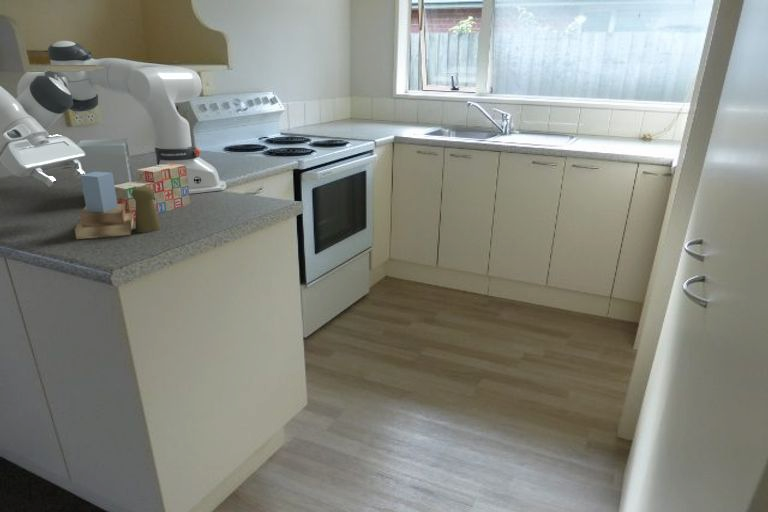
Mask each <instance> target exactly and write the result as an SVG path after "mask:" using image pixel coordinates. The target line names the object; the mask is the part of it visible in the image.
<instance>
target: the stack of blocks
mask: <svg viewBox="0 0 768 512" xmlns="http://www.w3.org/2000/svg"><path fill="white" fill-rule="evenodd" d="M136 171H137V172H136V173H137V179H138V180H133V182H128V183H123V184H119V185H114V186H115V192H116V198H117V204H124V207H125V213H132V214H133V220H134V221H136V201H135V200H134V199H133V196H132V191H133V189H135V188H137V187H151V188H152V189H153V190H154V193H155V195H154V198H153V201H154V205H155V208H156V212H157V215H158V214H162V213H165V212H169V211H173V210H176V208H177V209H180V208H182V207H183V206H184V207H187V206H190V205H191V198H190V197H191V196H190V194H189V189H188V178H187V172H186V165H180V164H172V163H170V164H165V165H163V164H162V165H157V164H156V165H154V166H150V167H149V166H148V167H144V168H143V167H142V168H139V169H138V168H137V170H136ZM189 204H190V205H189ZM186 205H187V206H186ZM172 209H173V210H172Z"/></svg>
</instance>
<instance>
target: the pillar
mask: <svg viewBox="0 0 768 512" xmlns="http://www.w3.org/2000/svg"><path fill="white" fill-rule="evenodd" d="M80 177H81V178H80V182H81V186H82V194H83V197H84V203H86V204H85V206H86V209H87V211H92V212H102V213H105V212H107V211H110V210H113V209H116V208H118V204H117V198H116V192H115V186H114V180H113V174H112V173H107V172H92V173H88V174H84V175H80Z"/></svg>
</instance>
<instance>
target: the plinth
mask: <svg viewBox="0 0 768 512" xmlns="http://www.w3.org/2000/svg"><path fill="white" fill-rule="evenodd" d="M134 222H135V220H133V214H132V213H125V207H124V204H118V208H116V209H113V210H110V211H107V212H105V213H102V212H92V211H87V209H86V205H85V207H84V208H83V209H82V212H81V213H80V219H79V221H78V223H77V224H76V227H75V228H74V233H75V239H76V240H83V239H86V238H87V239H95V238H96V239H97V238H98V237H99V238H107V237H108V238H109V237H120V236H131V234H132V230H133V226H134Z"/></svg>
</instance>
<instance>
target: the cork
mask: <svg viewBox="0 0 768 512" xmlns="http://www.w3.org/2000/svg"><path fill="white" fill-rule="evenodd" d="M154 195H155V193H154V190H153V189H152V188H151V187H137V188H135V189H133V191H132V196H133V199H134V200H135V201H136V220H135V231H136V232H138V233H151V232H152V233H153V232H156V231H158V230H160V229H161V228H162V226H161V222H160V220H159V216H158V214H157V212H156V208H155V205H154V201H153V198H154Z"/></svg>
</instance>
